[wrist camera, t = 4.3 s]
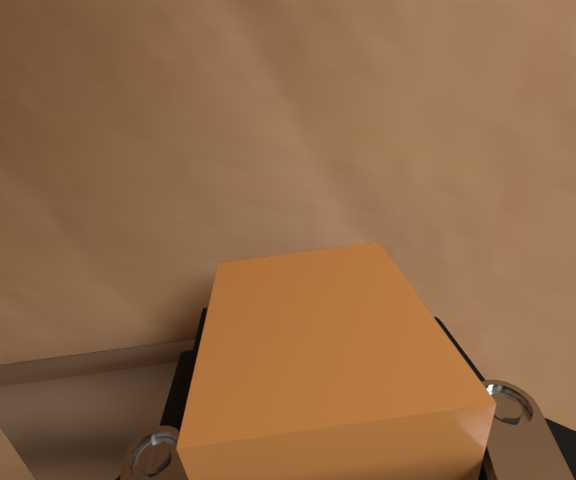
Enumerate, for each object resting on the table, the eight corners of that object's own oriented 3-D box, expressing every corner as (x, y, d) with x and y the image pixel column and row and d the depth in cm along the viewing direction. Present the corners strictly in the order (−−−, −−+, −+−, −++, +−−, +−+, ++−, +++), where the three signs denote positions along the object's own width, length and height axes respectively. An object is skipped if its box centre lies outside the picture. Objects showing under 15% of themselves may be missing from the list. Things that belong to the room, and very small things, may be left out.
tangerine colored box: (218, 262, 11) (176, 448, 5) (378, 241, 11) (497, 403, 5) (244, 378, 13) (233, 591, 8) (376, 360, 13) (458, 557, 8)
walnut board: (-2, 365, 16) (-132, 501, 11) (359, 316, 17) (406, 423, 11) (79, 497, 21) (16, 640, 15) (362, 456, 21) (397, 580, 16)
